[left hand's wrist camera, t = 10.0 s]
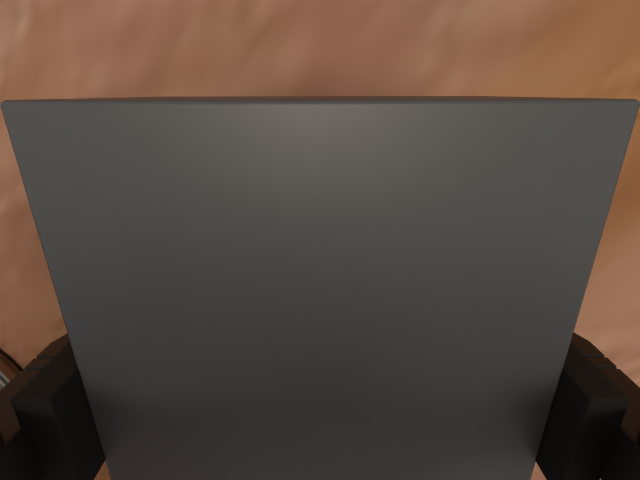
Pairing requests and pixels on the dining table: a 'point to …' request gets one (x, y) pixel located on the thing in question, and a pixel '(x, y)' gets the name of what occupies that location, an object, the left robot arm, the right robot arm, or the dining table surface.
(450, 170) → the slab
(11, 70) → the dining table surface
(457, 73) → the dining table surface
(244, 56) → the dining table surface
